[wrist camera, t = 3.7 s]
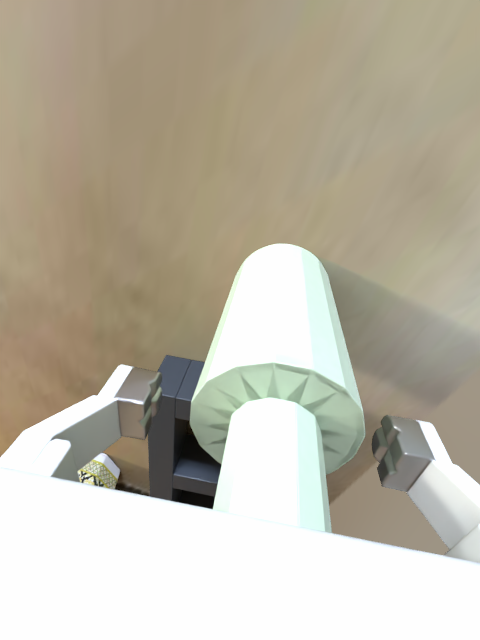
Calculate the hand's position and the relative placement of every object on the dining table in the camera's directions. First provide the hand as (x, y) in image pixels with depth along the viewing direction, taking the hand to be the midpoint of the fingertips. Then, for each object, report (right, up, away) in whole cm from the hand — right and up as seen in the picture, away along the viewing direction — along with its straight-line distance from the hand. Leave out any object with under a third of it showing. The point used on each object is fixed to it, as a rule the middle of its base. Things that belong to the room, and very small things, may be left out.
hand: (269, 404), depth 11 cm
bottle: (+1, +5, +8) cm, 10 cm away
